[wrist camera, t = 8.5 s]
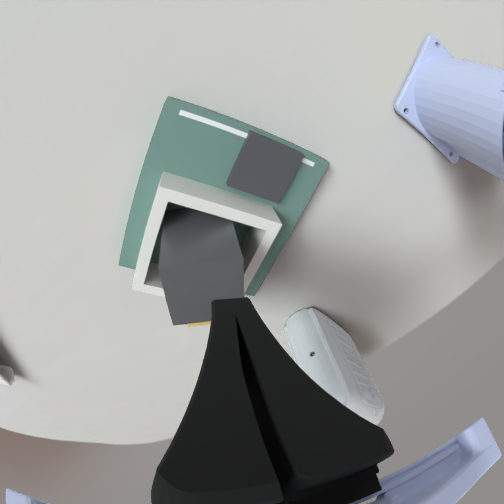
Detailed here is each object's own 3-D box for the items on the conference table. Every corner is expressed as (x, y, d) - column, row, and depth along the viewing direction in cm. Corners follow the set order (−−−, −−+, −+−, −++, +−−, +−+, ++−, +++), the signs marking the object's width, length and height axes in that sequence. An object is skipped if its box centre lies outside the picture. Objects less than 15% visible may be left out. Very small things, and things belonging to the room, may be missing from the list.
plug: (227, 203, 18) (243, 258, 13) (230, 260, 21) (244, 322, 16) (165, 210, 18) (158, 268, 13) (175, 266, 20) (175, 330, 15)
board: (323, 158, 19) (347, 176, 16) (252, 287, 24) (261, 318, 21) (168, 96, 14) (162, 100, 12) (120, 257, 20) (112, 288, 17)
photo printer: (275, 324, 28) (314, 439, 18) (309, 299, 27) (362, 414, 17) (325, 353, 33) (362, 439, 23) (353, 334, 32) (397, 420, 22)
